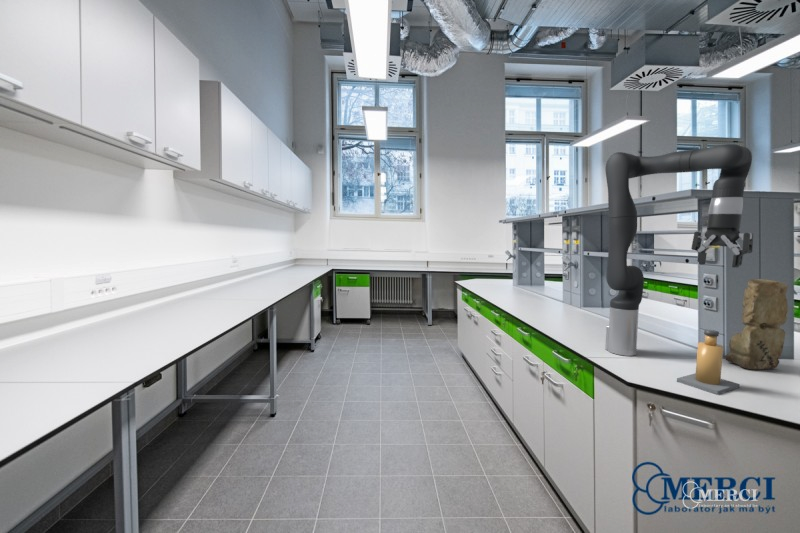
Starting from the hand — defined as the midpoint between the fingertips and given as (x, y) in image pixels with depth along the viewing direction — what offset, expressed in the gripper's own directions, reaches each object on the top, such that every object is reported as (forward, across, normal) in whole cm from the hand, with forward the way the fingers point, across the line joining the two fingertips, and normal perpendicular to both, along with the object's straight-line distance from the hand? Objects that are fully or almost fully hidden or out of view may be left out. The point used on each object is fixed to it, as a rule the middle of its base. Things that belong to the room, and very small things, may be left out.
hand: (718, 265), depth 109 cm
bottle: (+34, -6, +10) cm, 35 cm away
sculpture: (+35, -3, -23) cm, 42 cm away
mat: (+35, -6, +9) cm, 36 cm away
